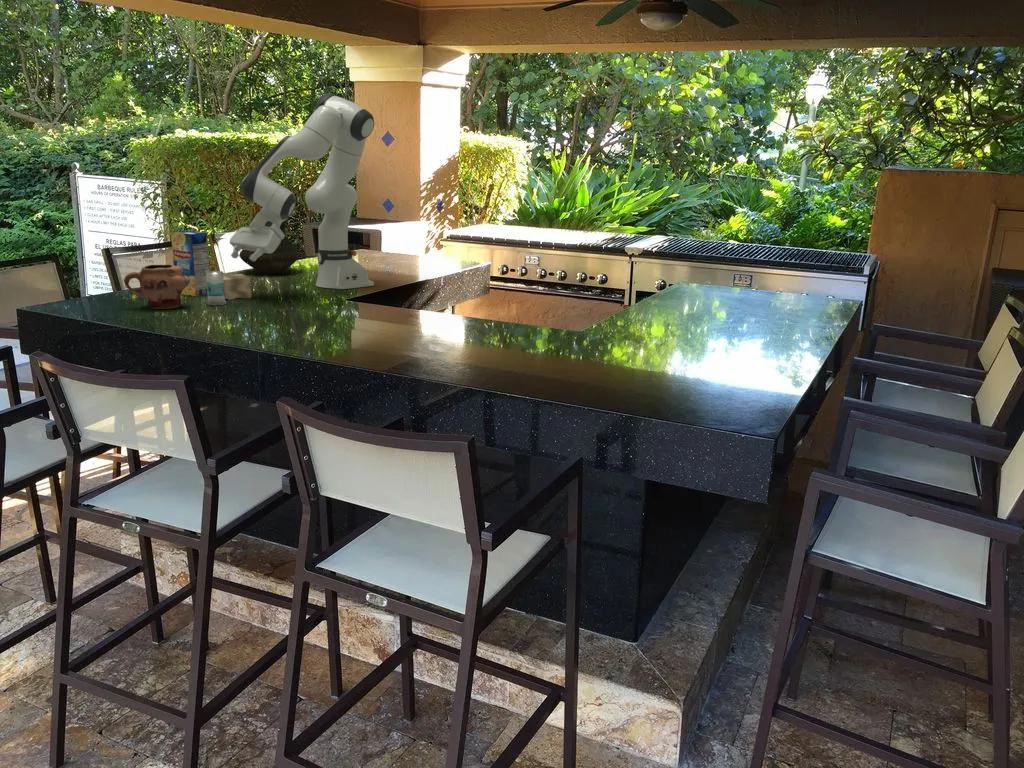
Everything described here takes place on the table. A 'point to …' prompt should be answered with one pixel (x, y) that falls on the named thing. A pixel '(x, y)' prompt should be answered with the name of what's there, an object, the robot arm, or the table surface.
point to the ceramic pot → (273, 256)
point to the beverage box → (192, 259)
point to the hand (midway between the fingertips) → (242, 258)
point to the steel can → (215, 288)
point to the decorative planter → (160, 285)
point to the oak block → (237, 286)
